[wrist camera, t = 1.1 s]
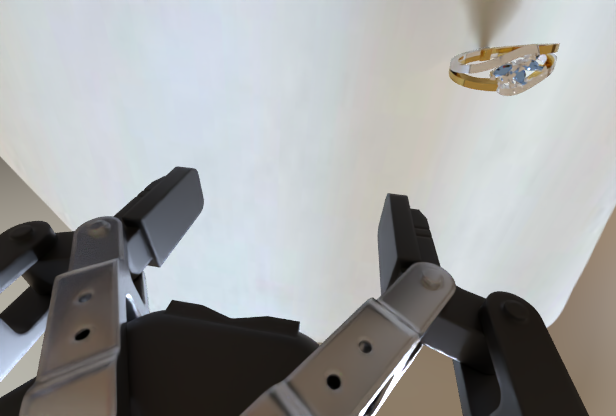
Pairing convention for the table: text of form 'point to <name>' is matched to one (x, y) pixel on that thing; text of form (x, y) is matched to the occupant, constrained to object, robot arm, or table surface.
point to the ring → (504, 67)
